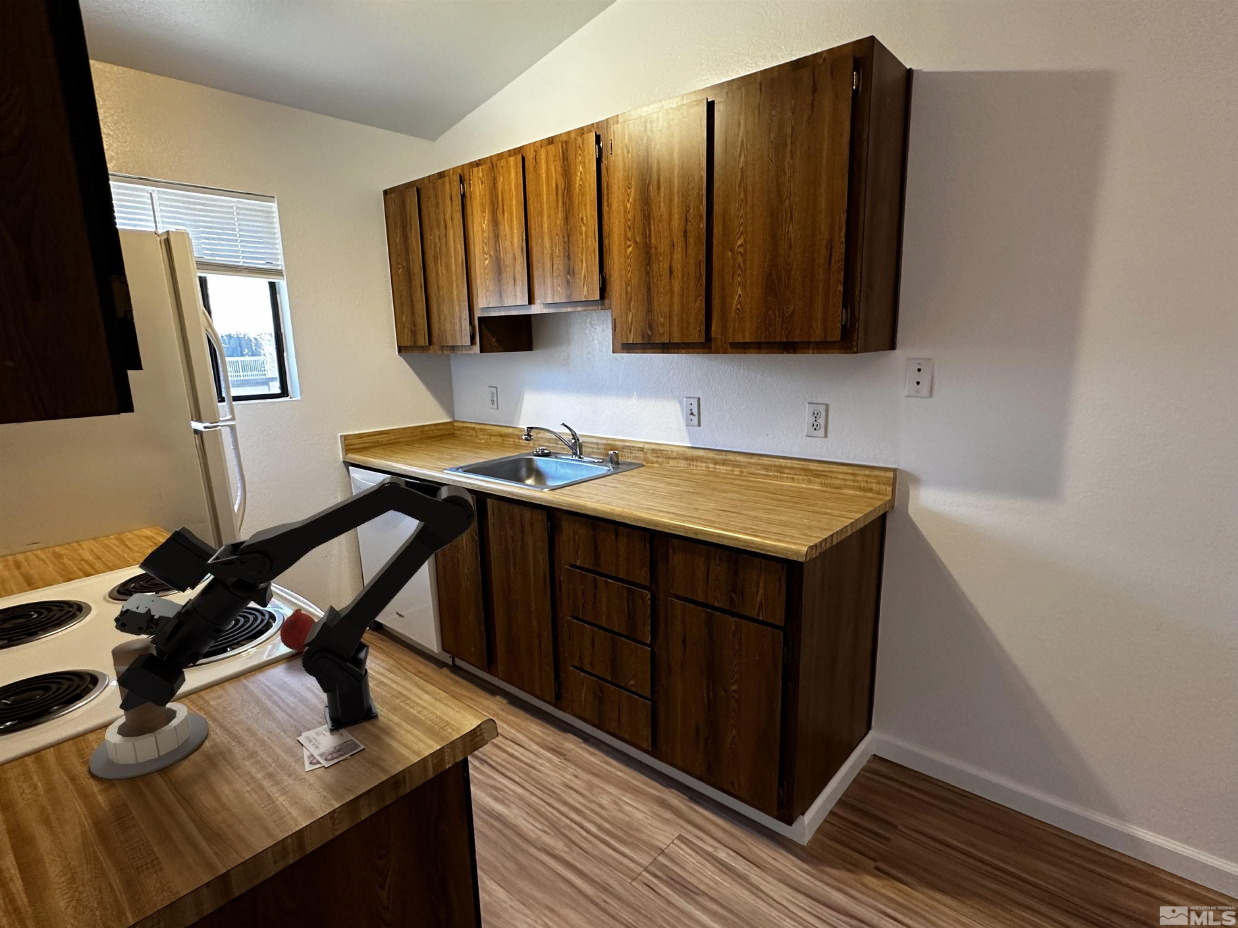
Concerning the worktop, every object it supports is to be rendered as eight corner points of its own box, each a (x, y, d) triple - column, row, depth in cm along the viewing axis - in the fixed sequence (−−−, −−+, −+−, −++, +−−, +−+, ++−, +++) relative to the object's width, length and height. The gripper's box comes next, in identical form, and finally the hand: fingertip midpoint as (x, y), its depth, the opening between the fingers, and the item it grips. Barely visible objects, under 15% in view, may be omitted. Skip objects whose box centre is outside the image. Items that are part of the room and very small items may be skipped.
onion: (304, 661, 106) (299, 617, 104) (275, 658, 107) (269, 614, 105) (327, 644, 112) (322, 602, 110) (298, 641, 113) (293, 600, 111)
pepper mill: (177, 738, 85) (159, 644, 82) (137, 756, 82) (117, 658, 79) (164, 726, 88) (147, 634, 85) (126, 743, 84) (105, 648, 81)
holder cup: (208, 754, 83) (204, 730, 82) (81, 793, 76) (75, 767, 75) (209, 706, 94) (205, 684, 93) (98, 736, 87) (93, 712, 86)
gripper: (183, 551, 90) (106, 633, 89) (122, 605, 72) (26, 708, 72) (252, 595, 93) (179, 674, 93) (210, 657, 76) (120, 755, 75)
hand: (131, 698), depth 83 cm, fingers closed on pepper mill, 4 cm apart
